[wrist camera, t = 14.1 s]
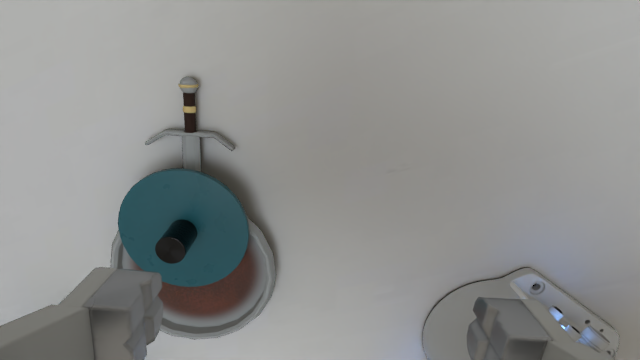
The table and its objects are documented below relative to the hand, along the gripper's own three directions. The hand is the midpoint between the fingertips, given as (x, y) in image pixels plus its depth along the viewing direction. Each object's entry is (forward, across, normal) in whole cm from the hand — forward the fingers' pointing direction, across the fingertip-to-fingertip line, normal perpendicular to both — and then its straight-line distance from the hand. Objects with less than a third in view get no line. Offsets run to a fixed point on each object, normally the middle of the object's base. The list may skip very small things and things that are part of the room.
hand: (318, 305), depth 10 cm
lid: (+26, +12, +12) cm, 31 cm away
